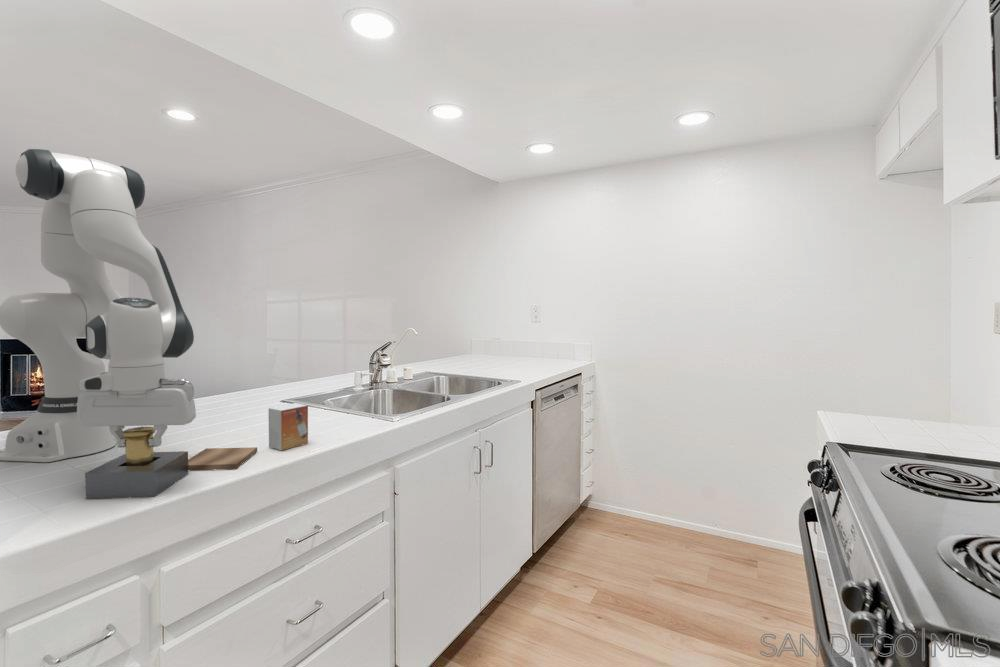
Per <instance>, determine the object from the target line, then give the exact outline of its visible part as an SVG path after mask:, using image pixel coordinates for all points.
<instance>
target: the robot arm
mask: <svg viewBox="0 0 1000 667" xmlns="http://www.w3.org/2000/svg"><path fill="white" fill-rule="evenodd" d="M15 176H16V178H17V181H18V182H19V185H20V186H19V187H20V189H22V190H23V191H24V192H26V194H28V195H29V196H32V197H35V198H38V199H41V200H44V204H43V208H42V213H41V214H42V215H41V222H40V262H41V265H42V266H43V268H44V269H45V270H46V271H47V272H49V273H51V274H52V275H54V276H56V277H59V278H60V279H63V280H65V282H66V283H67V284H68V286H69V289H70V293H69V292H65V293H64V292H59V293H58V292H33V293H23V294H17V295H11V296H9V297H7V298H6V299H4V300H3V302H2V303H1V304H0V328H1V329H2V330H3V331H4V333H6V334H7V335H9V336H10V337H11V338H14V339H16V340H18V341H20V342H21V343H23V344H24V345H26V346H27V347H28V348H30V350H31V351H32V352H33V353H34V355H36V357H37V359H38V360H39V363H40V365H41V371H42V378H43V385H44V386H43V387H44V396H42V397H41V398H39V399H35V400H31V402H32V404H31V406H37V405H38V407H37V409H36V412H35V413H33V414H32V415H30V416H29V417H28V418H26V419H24V420H23V421H22V422H20V423H19V424H17V425H16V426H14V427H13V428H11V429H10V430H9V431H8V433H7V435H6V438H5V444H4V445H5V446H4V447H5V448H2V449H1V450H0V461H5V462H6V461H7V462H8V461H10V462H29V463H30V462H31V463H49V462H51V463H52V462H55V461H56V462H57V461H61V460H64V459H69V458H75V457H76V458H77V457H81V456H88V455H92V454H96V453H100V452H103V451H105V450H108V449H111V448H113V447H115V446H116V447H117V448H126V442H125V437H123V431H124V430H123V429H125V427H128V426H129V427H130V426H133V427H135V426H137V427H149V426H153V427H154V430H155V433H154V434H153V437H152V438H149V439H148V441H149V447H153V448H158V447H160V446H161V445H162V441H163V440H162V437H163V435H164V433H165V432H166V431H167V429H168V426H186V425H188V424H190V423H192V422H193V421H194V420H195V419H196V417H197V411H196V410H197V409H196V404H195V399H194V396H195V388H194V384H192V383H191V382H190V381H188V380H186V379H185V378H176V379H175V378H165V377H166V376H165V360H164V358H179V357H180V356H182V355H184V354H185V353H186V352H188V350H189V349H190V348H191V347H192V346H193V344H194V341H195V340H194V338H195V335H194V330H193V326H192V324H191V322H190V319H189V318H188V316H187V314H186V312H185V311H184V309H183V306H182V304H181V303H182V302H181V301H180V297H179V294H178V292H177V289H176V287H175V286H176V285H175V284H174V281H173V277H172V276H171V273H170V271H169V270H170V269H169V268H168V265H167V262H166V260H165V257H164V255H163V254H162V252H161V251H160V249H159V248H158V247H156V246H155V245H154V244H151V242H149V241H148V239H147V238H146V237H145V235H144V234H143V231H142V230H141V229H140V226H139V222H138V216H137V211H136V209H138V208H140V207H141V206H142V205H143V203H144V200H145V196H146V185H145V181H144V178H143V177H142V176H141V174H140V173H139V172H137V171H135V170H133V169H131V168H129V167H126V166H123V165H120V166H119V165H116V164H113V163H111V162H107V161H105V160H104V161H103V160H100V159H97V158H96V159H95V158H92V157H88V156H86V157H84V156H80V155H79V156H78V155H75V154H74V155H73V154H68V153H61V152H55V151H54V152H52V151H50V150H49V149H39V148H28V149H27V150H25V151H23V152H22V153H21V154H20V157H19V158H18V160H17V161H16V164H15ZM105 263H108V264H111V265H113V266H116V267H119V268H123V269H125V270H127V271H129V272H132V273H134V275H135V274H136V275H137V276H138V277H140V278H141V279H143V281H144V282H145V283H146V285H147V288H148V290H149V292H150V297H151V298H152V300H151V299H148V298H139V297H124V296H122V295H121V294H120V293H119V292H118V291H117V290H116V289H115V288H114V287H113V285H112V284H111V282H110V280H109V278H108V276H107V273H106V269H105ZM78 338H79V339H81V338H85V347H86V348H85V349H86V351H84V350H82V349H81V348H80V347H79V345H78V342H77V339H78ZM87 351H88V352H87ZM102 359H103V360H109V361H108V364H107V367H108V369H107V370H108V371H105V370H106V368H105V364H104V362H103V360H102ZM33 402H34V403H33ZM115 440H116V441H115Z"/></svg>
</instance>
